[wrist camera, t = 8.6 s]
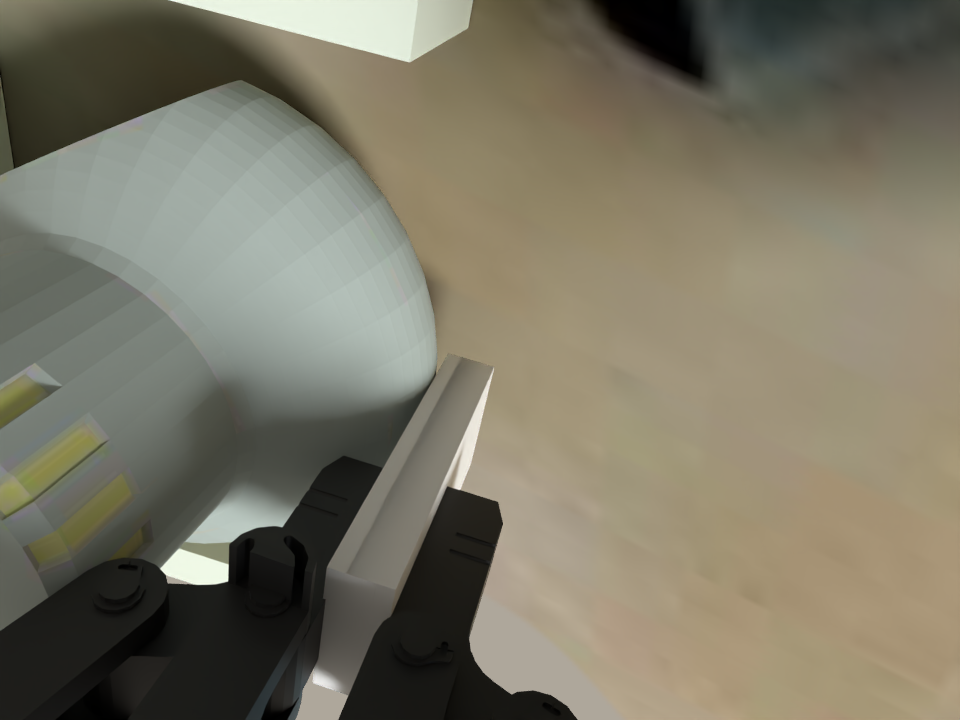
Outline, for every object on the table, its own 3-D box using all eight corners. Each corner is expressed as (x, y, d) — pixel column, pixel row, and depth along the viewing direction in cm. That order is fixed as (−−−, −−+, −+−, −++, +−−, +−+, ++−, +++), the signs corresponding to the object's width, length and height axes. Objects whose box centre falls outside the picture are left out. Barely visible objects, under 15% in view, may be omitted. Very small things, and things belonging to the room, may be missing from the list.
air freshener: (190, 438, 23) (-128, 733, 15) (32, 178, 20) (-485, 366, 11) (520, 377, 18) (330, 758, 10) (383, 25, 15) (-59, 155, 7)
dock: (-88, -177, 16) (-298, -201, 12) (479, -38, 15) (420, -22, 11) (16, 409, 24) (-91, 491, 21) (382, 523, 23) (331, 629, 20)
